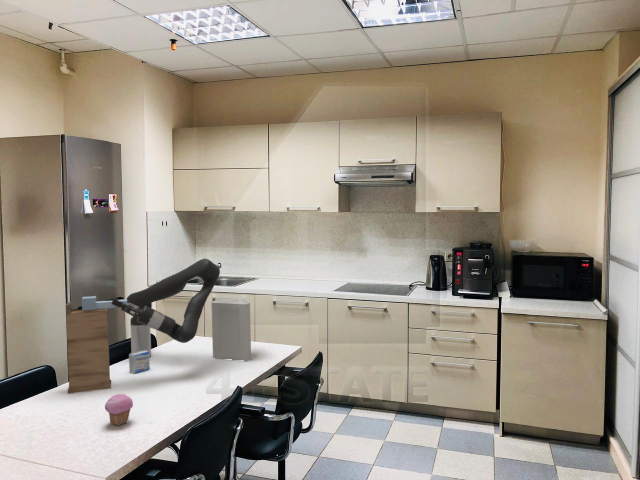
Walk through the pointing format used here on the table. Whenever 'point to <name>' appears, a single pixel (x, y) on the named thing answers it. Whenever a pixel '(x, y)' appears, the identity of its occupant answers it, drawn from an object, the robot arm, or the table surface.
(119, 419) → the cupcake
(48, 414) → the table surface
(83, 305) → the bar
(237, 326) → the grey box
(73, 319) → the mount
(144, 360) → the medicine box
